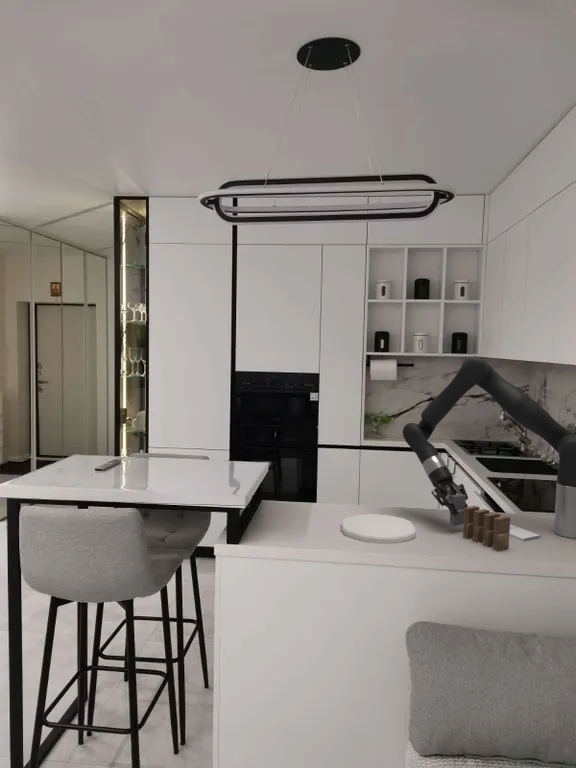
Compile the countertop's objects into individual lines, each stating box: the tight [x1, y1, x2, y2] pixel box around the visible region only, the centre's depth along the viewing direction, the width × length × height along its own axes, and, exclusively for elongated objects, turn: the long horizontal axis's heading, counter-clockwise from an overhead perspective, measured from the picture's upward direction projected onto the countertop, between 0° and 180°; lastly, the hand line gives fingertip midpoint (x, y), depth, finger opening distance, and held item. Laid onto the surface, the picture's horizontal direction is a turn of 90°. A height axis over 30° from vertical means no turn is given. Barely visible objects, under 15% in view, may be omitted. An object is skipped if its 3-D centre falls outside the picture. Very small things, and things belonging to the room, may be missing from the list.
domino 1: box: [449, 494, 467, 527], centre depth 193 cm, size 2×5×10 cm, turn 121°
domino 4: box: [482, 512, 501, 548], centre depth 181 cm, size 2×5×10 cm, turn 121°
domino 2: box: [462, 505, 480, 540], centre depth 188 cm, size 2×5×10 cm, turn 121°
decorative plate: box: [341, 513, 417, 544], centre depth 192 cm, size 25×4×25 cm
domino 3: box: [472, 508, 490, 544], centre depth 184 cm, size 2×5×10 cm, turn 121°
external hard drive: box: [509, 523, 542, 542], centre depth 192 cm, size 2×8×12 cm
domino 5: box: [492, 515, 511, 552], centre depth 177 cm, size 2×5×10 cm, turn 121°
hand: (462, 513), depth 191 cm, fingers closed on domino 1, 5 cm apart
